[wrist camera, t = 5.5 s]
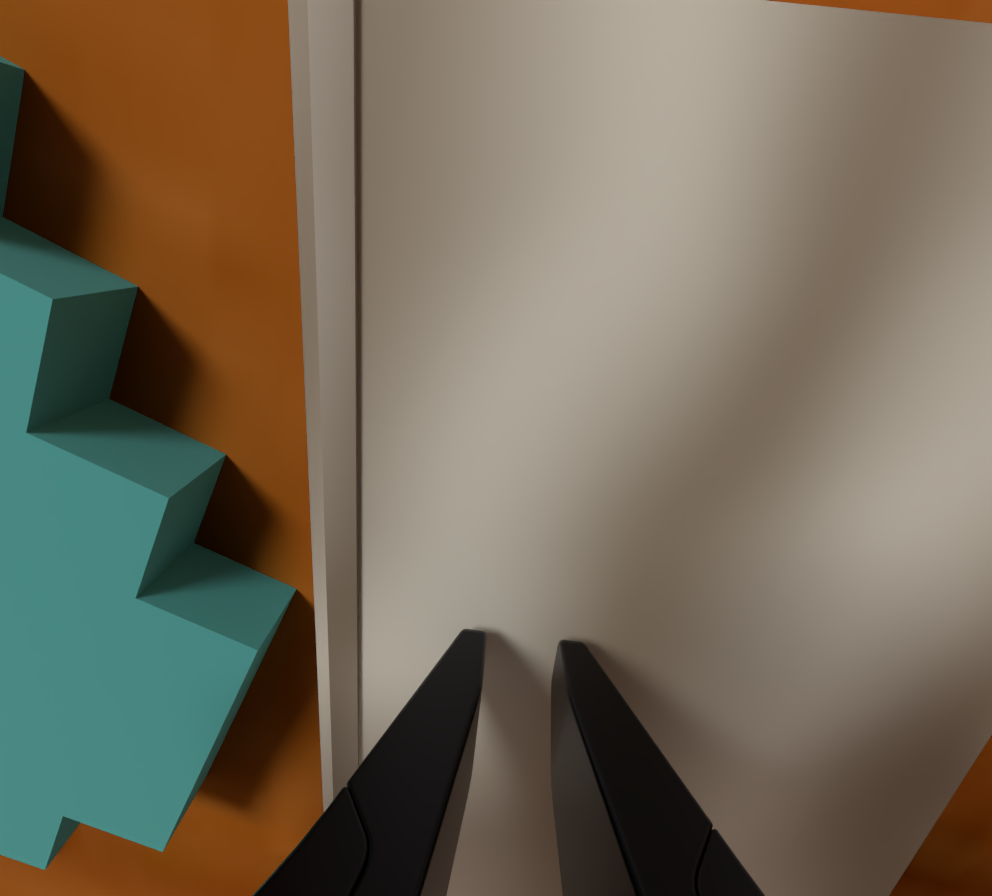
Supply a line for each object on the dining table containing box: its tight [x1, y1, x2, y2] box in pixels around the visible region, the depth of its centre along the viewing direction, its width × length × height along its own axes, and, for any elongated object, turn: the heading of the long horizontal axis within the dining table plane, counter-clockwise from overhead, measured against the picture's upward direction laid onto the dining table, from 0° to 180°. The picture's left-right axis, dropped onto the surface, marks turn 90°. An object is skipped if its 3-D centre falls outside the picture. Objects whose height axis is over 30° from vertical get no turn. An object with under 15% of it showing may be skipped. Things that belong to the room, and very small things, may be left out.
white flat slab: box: [288, 0, 992, 896], centre depth 10 cm, size 12×18×2 cm, turn 175°
